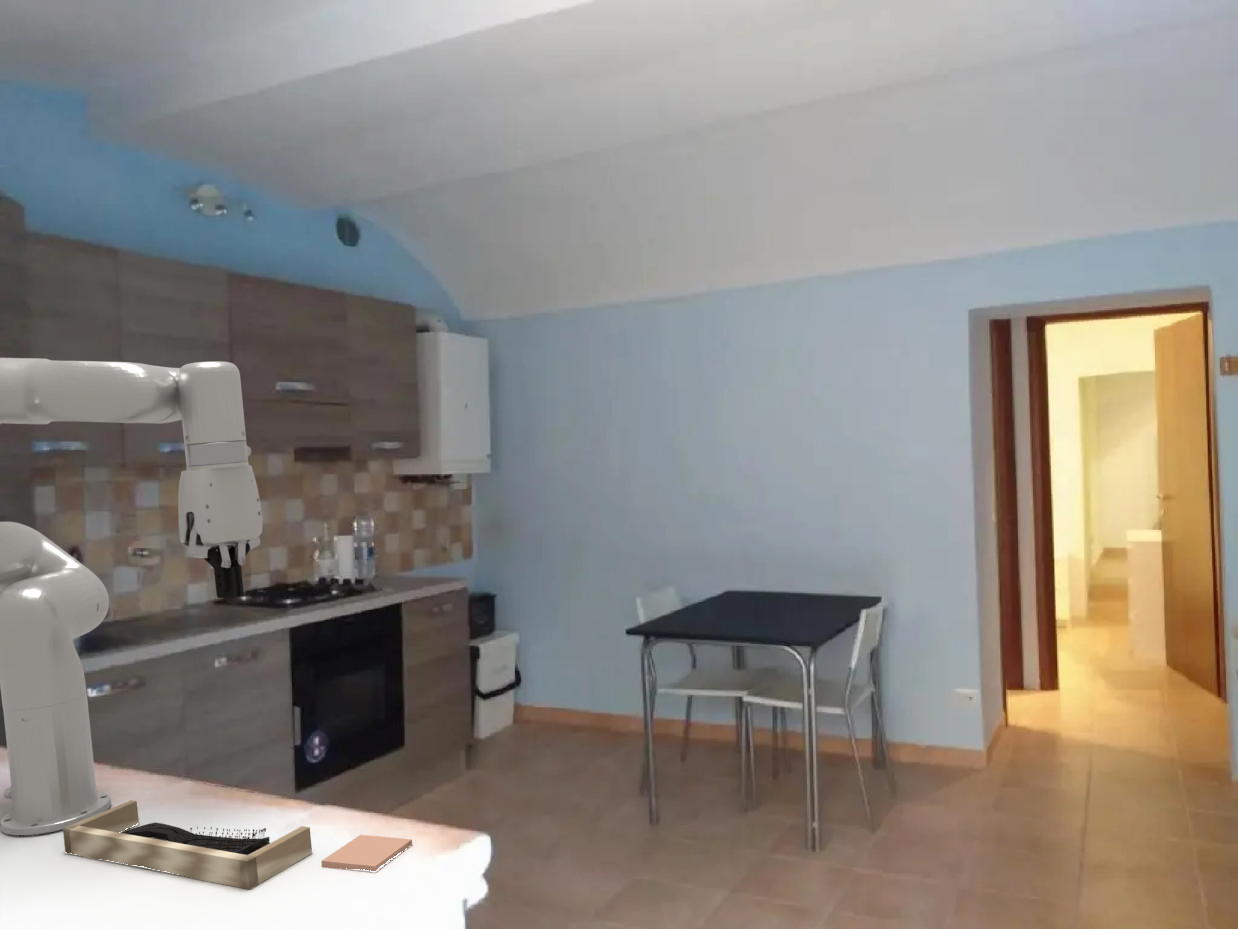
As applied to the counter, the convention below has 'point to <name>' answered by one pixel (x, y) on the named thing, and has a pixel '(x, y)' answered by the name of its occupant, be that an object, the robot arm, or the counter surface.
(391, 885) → the counter surface
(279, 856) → the u-shaped wooden frame
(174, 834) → the hairbrush
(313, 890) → the counter surface
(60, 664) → the robot arm
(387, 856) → the terracotta tile
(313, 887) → the counter surface
